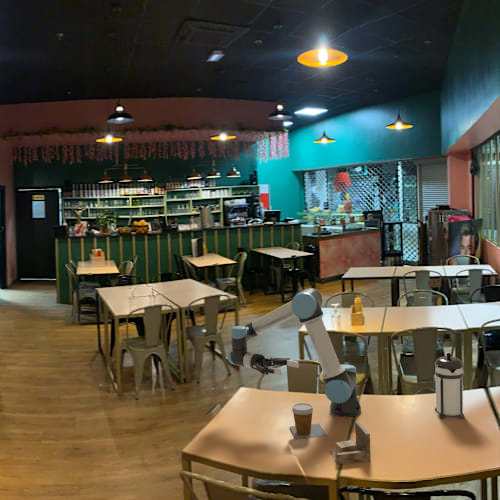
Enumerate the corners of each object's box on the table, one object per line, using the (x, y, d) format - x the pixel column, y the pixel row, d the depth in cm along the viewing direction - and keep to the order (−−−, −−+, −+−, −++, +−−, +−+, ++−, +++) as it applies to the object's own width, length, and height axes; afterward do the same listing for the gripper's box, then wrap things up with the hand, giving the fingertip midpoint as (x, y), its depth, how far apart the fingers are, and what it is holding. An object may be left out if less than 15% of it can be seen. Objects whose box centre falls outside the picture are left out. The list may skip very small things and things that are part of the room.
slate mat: (319, 425, 257) (319, 423, 257) (327, 437, 243) (327, 435, 243) (289, 428, 255) (289, 426, 255) (296, 440, 241) (296, 439, 241)
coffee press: (474, 414, 261) (473, 352, 258) (453, 423, 252) (452, 359, 249) (443, 404, 275) (442, 345, 273) (422, 412, 266) (421, 351, 264)
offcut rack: (359, 449, 230) (359, 421, 229) (370, 463, 217) (370, 434, 216) (328, 452, 228) (327, 424, 227) (337, 467, 216) (336, 437, 214)
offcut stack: (354, 451, 226) (354, 439, 225) (359, 458, 220) (359, 445, 219) (335, 453, 225) (334, 441, 224) (339, 460, 219) (339, 448, 218)
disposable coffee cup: (317, 430, 249) (316, 404, 248) (309, 438, 241) (308, 411, 240) (297, 426, 254) (296, 401, 253) (289, 435, 245) (288, 408, 244)
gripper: (271, 362, 277) (305, 369, 262) (237, 375, 258) (272, 383, 244) (270, 347, 276) (305, 354, 262) (236, 359, 257) (272, 367, 243)
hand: (289, 368), depth 253 cm, fingers open, 13 cm apart
